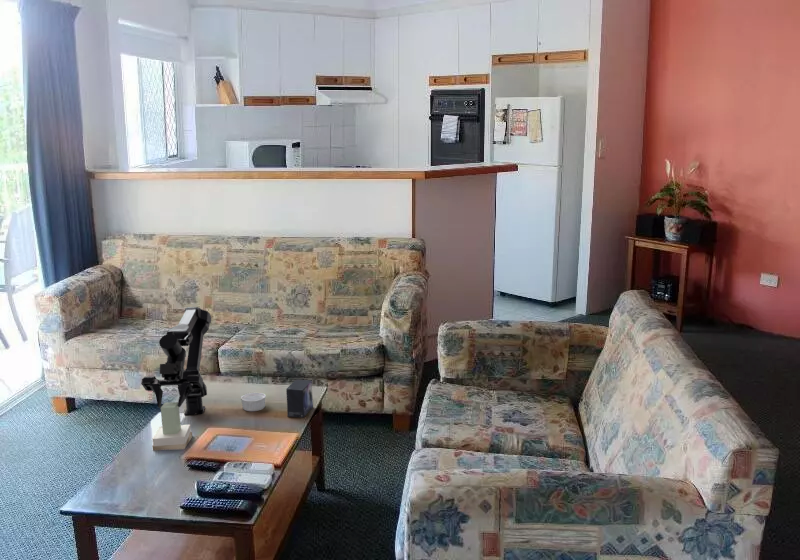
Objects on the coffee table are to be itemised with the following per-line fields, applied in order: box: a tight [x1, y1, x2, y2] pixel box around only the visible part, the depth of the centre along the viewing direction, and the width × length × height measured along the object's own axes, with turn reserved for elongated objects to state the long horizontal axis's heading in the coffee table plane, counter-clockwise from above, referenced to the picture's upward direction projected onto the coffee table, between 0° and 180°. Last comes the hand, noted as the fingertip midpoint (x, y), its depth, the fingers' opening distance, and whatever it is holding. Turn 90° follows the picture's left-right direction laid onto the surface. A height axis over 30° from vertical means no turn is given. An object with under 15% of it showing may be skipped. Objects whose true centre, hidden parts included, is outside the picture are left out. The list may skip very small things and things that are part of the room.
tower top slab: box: [152, 423, 192, 446], centre depth 243 cm, size 10×10×2 cm
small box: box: [286, 379, 314, 419], centre depth 265 cm, size 11×6×10 cm, turn 168°
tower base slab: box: [152, 431, 193, 451], centre depth 243 cm, size 10×10×2 cm
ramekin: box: [240, 391, 267, 412], centre depth 272 cm, size 9×9×4 cm
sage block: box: [160, 401, 182, 434], centre depth 242 cm, size 4×4×9 cm
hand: (168, 407), depth 240 cm, fingers open, 6 cm apart
